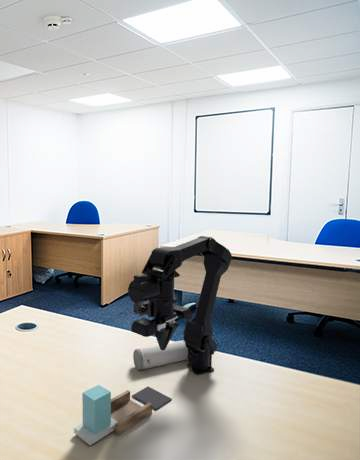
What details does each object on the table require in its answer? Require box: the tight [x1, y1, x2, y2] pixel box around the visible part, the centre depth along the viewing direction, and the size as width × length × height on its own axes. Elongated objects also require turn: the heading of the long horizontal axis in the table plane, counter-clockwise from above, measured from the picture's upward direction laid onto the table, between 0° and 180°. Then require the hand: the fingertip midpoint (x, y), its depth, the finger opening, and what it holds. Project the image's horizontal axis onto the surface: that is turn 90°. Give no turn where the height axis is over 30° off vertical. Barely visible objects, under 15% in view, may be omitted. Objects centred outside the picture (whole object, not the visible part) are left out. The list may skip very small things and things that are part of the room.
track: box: [111, 389, 153, 437], centre depth 86 cm, size 11×9×2 cm
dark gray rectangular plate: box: [131, 386, 172, 411], centre depth 94 cm, size 6×9×1 cm, turn 50°
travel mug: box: [132, 339, 190, 371], centre depth 114 cm, size 6×7×20 cm
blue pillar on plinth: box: [73, 384, 118, 446], centre depth 80 cm, size 8×6×9 cm
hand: (162, 349), depth 97 cm, fingers closed
